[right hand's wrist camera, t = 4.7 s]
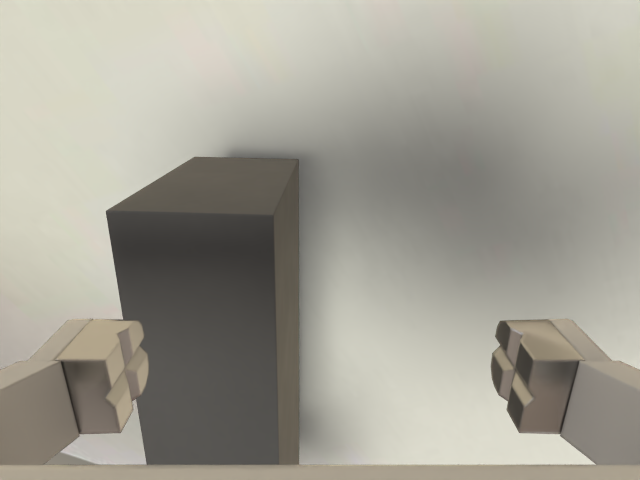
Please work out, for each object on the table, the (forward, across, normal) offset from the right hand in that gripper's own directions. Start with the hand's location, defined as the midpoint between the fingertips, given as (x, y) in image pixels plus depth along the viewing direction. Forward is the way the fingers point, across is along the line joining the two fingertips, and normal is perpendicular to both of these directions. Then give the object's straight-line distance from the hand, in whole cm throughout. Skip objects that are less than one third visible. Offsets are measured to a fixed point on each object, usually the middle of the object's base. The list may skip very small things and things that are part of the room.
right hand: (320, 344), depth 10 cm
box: (+18, -5, -13) cm, 22 cm away
